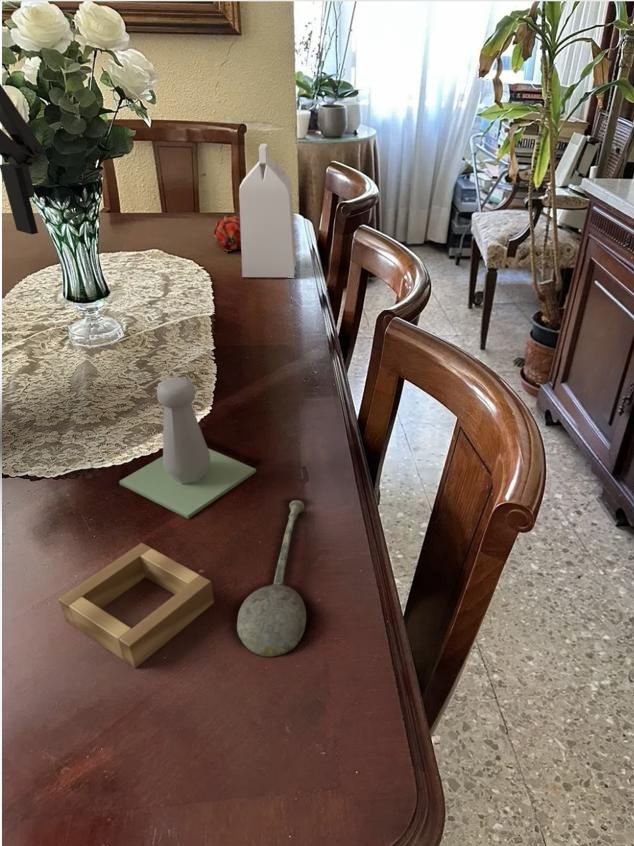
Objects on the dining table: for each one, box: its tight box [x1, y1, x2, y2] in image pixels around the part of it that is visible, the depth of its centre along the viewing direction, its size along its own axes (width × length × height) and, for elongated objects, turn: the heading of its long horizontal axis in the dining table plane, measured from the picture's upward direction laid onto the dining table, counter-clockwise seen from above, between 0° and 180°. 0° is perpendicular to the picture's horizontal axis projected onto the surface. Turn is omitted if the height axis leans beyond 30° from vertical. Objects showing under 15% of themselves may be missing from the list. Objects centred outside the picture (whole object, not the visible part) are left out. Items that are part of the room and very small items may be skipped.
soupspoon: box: [236, 500, 307, 658], centre depth 69 cm, size 22×3×7 cm
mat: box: [118, 447, 257, 520], centre depth 84 cm, size 12×12×1 cm
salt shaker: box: [156, 376, 210, 484], centre depth 80 cm, size 6×6×13 cm
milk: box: [238, 143, 297, 279], centre depth 145 cm, size 12×12×26 cm
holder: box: [58, 542, 215, 669], centre depth 64 cm, size 10×10×3 cm
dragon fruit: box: [213, 215, 241, 253], centre depth 163 cm, size 8×8×12 cm
